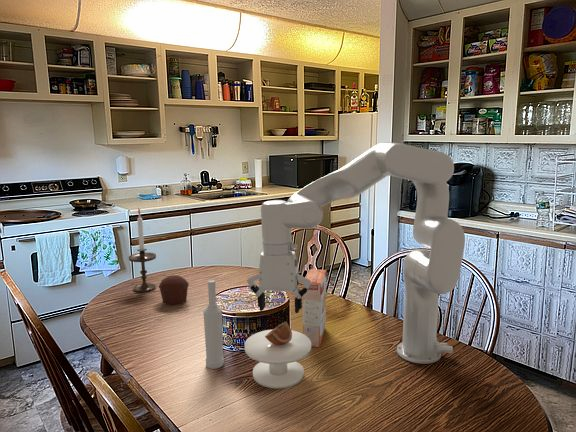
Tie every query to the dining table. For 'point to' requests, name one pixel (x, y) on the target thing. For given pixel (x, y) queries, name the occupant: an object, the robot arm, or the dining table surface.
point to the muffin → (174, 290)
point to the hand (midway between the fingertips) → (280, 310)
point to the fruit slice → (280, 334)
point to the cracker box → (315, 307)
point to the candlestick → (142, 260)
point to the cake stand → (277, 359)
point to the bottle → (213, 330)
